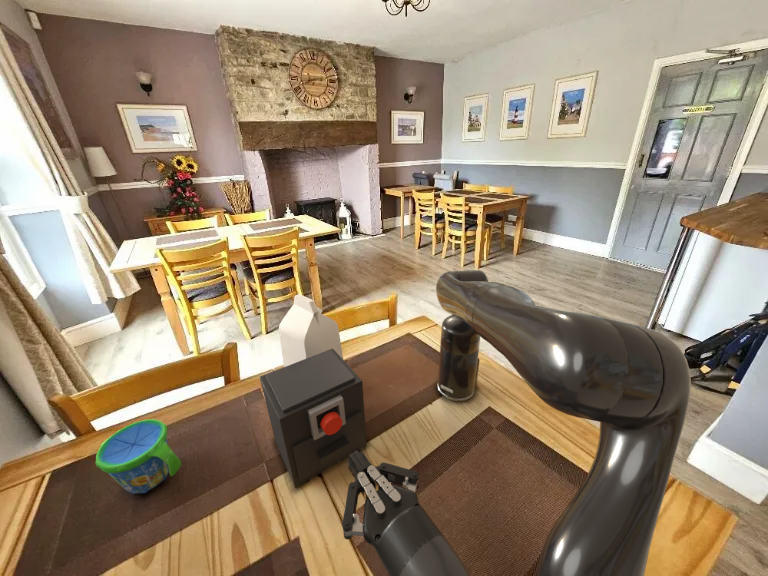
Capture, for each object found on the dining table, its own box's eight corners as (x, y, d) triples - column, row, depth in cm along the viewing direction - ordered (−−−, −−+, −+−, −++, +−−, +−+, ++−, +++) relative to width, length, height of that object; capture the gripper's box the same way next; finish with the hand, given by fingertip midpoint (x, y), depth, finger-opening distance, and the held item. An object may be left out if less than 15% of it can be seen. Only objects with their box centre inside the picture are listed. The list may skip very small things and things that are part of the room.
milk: (286, 384, 85) (269, 299, 74) (319, 363, 93) (308, 284, 82) (313, 405, 78) (298, 315, 67) (346, 380, 86) (338, 296, 75)
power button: (339, 422, 58) (337, 408, 56) (343, 428, 56) (341, 414, 55) (321, 432, 56) (319, 417, 54) (325, 438, 55) (323, 423, 53)
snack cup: (202, 463, 64) (188, 428, 60) (154, 516, 55) (134, 479, 51) (147, 444, 69) (130, 410, 64) (94, 491, 59) (70, 455, 55)
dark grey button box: (339, 408, 77) (332, 345, 69) (373, 454, 65) (369, 385, 57) (274, 440, 69) (258, 374, 61) (300, 500, 57) (283, 427, 49)
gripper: (466, 511, 38) (386, 419, 51) (375, 591, 31) (310, 461, 44) (461, 545, 41) (387, 450, 54) (378, 625, 34) (316, 494, 48)
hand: (352, 455), depth 49 cm, fingers closed
